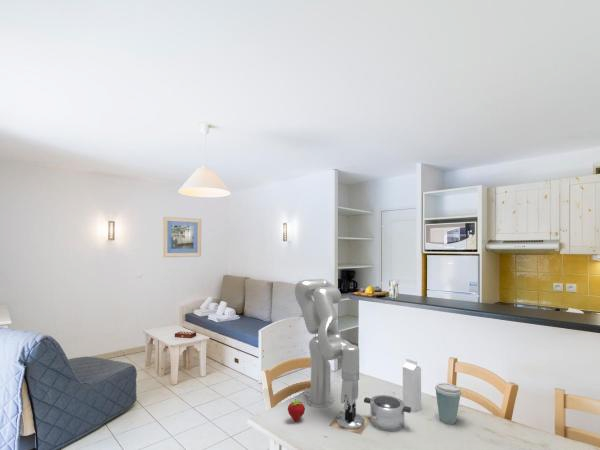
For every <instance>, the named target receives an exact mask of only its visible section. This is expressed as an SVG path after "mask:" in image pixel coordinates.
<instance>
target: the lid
mask: <svg viewBox="0 0 600 450" xmlns="http://www.w3.org/2000/svg"><path fill="white" fill-rule="evenodd" d="M348 407H349V408H350V406H348ZM352 412H353V421H352V422H350V421H346V420H345V413H341V414H339V413H338V414H339V415H338V414H337V415H338V416H337V415H336V416H337V418H336V422H337V424H338V425H339V426H341V427H343V428H346V429H359V428H362V427H363V426H364V424H365V420H364V418H363V417H364V416H363V417H362V415H360V414H358V413H356V417H354V406H352Z"/></svg>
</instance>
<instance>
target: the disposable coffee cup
mask: <svg viewBox="0 0 600 450" xmlns="http://www.w3.org/2000/svg"><path fill="white" fill-rule="evenodd" d="M434 390H435V395H436V403H437V410H438V412H437V413H438V418H439V420H440V421H441V422H443V423H444V424H447V425H454V424H456V421H457V417H458V410H459V406H460V400H461V395H462V390H461V388H460V387H459V386H457V385H455V384H452V383H448V382H439V383H436V385H435V387H434Z"/></svg>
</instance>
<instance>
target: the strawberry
mask: <svg viewBox="0 0 600 450" xmlns="http://www.w3.org/2000/svg"><path fill="white" fill-rule="evenodd" d="M296 399H297V398H295V400H294V401H290V404H289V405H288V406H287V412H288V414H289V416H290V417H291V418H292V420H293V421H294V422H299V420H300V419H301V418H302V416H303V415H304V414H305V412H306V411H305V410H306V407H305V405H304V404H303V402H302V401H300V400H296Z"/></svg>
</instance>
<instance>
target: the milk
mask: <svg viewBox="0 0 600 450" xmlns="http://www.w3.org/2000/svg"><path fill="white" fill-rule="evenodd" d="M402 402H403V403H404V406H406V407H411V413H415V412H418V411H419V410H421V409H422V368H421V366H419V365H418V361H415V360H413V359H409V358H406V360H405V363H404V364H403V366H402Z"/></svg>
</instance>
